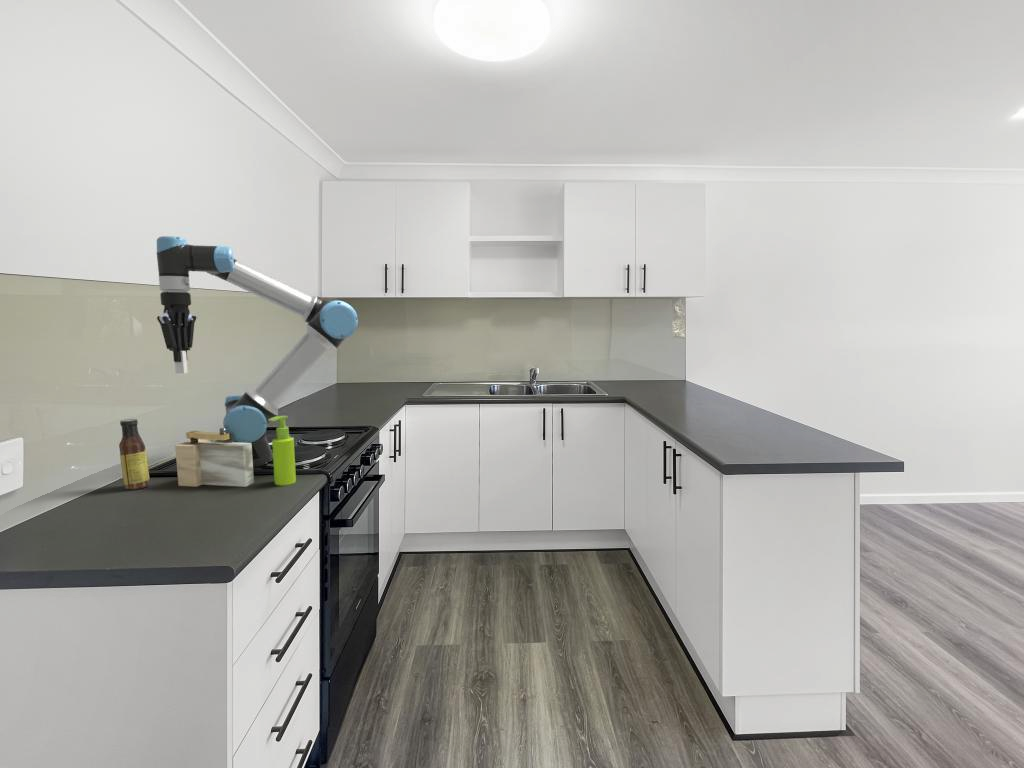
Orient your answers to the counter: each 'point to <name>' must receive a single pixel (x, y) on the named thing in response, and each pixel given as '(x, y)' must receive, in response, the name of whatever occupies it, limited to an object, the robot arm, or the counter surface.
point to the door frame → (214, 463)
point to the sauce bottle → (133, 456)
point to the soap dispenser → (283, 454)
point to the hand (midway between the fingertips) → (181, 372)
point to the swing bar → (209, 435)
